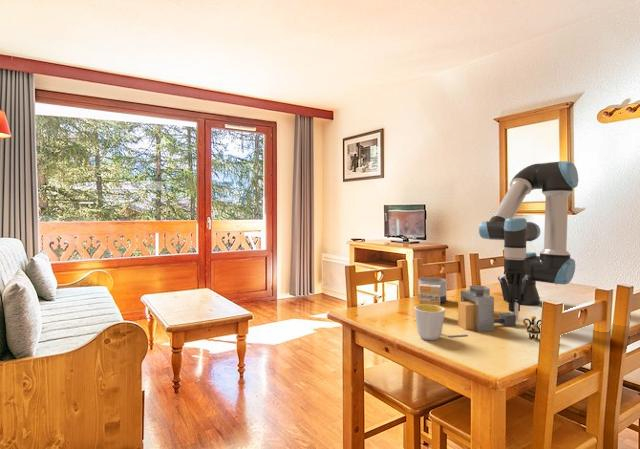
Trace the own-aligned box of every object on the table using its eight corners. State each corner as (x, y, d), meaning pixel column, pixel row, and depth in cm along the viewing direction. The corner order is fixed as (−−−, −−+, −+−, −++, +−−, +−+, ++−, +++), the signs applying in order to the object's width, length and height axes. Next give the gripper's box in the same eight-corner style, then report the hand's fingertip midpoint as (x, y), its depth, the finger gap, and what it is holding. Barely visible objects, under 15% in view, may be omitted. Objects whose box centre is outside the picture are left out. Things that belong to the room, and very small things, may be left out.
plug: (507, 322, 148) (508, 299, 148) (516, 326, 143) (516, 302, 143) (458, 325, 145) (458, 302, 144) (465, 329, 140) (465, 305, 139)
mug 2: (485, 316, 156) (486, 290, 156) (464, 313, 162) (465, 287, 161) (494, 310, 165) (495, 285, 165) (474, 307, 171) (474, 283, 170)
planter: (452, 301, 181) (452, 280, 181) (434, 306, 174) (434, 283, 174) (430, 296, 192) (430, 276, 192) (412, 300, 185) (412, 279, 184)
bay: (442, 321, 151) (442, 320, 151) (467, 335, 133) (467, 335, 133) (426, 322, 149) (425, 321, 149) (449, 337, 132) (449, 336, 132)
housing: (474, 321, 150) (475, 284, 149) (493, 331, 138) (494, 291, 137) (460, 322, 149) (460, 285, 148) (478, 332, 137) (478, 292, 136)
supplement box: (418, 317, 156) (418, 285, 156) (420, 314, 161) (420, 283, 160) (439, 319, 153) (440, 286, 153) (440, 315, 158) (440, 284, 157)
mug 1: (442, 344, 125) (442, 313, 124) (410, 340, 129) (411, 309, 129) (448, 332, 137) (449, 303, 136) (420, 328, 141) (420, 300, 141)
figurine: (520, 336, 131) (523, 314, 130) (530, 335, 133) (533, 312, 132) (533, 342, 127) (535, 319, 126) (543, 340, 129) (546, 317, 128)
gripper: (523, 256, 150) (522, 316, 151) (493, 257, 147) (492, 318, 148) (537, 259, 142) (536, 321, 143) (506, 260, 140) (505, 323, 141)
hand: (514, 319), depth 146 cm, fingers closed
